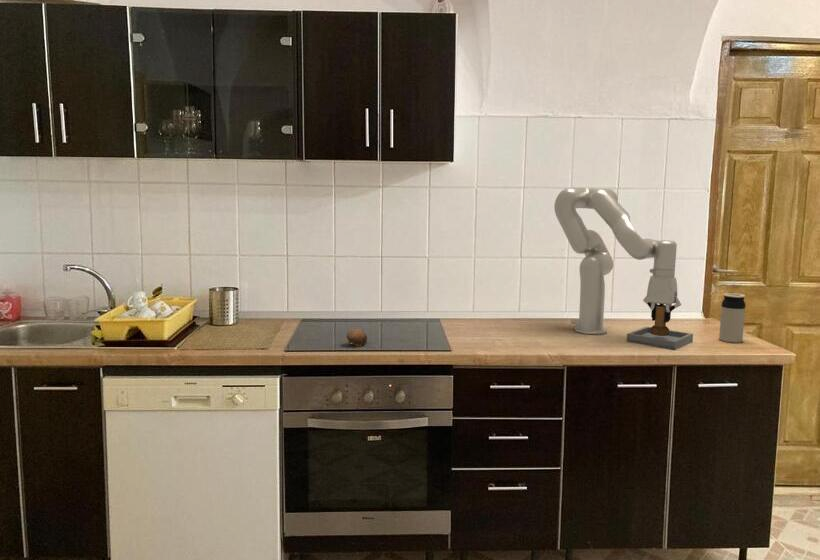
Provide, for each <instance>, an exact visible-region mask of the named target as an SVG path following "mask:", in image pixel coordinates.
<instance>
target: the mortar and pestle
mask: <svg viewBox="0 0 820 560" xmlns="http://www.w3.org/2000/svg"><path fill="white" fill-rule="evenodd" d="M665 312H666V304H657V305H656V314H655V320H654V325H652V326H650V327H651V334H653V335H657V336H668V335H669V330H670V328H669V327H668V326H666V324H667V323H665V322H664V317H665Z"/></svg>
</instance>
